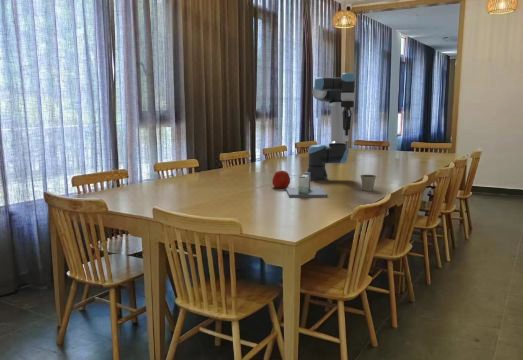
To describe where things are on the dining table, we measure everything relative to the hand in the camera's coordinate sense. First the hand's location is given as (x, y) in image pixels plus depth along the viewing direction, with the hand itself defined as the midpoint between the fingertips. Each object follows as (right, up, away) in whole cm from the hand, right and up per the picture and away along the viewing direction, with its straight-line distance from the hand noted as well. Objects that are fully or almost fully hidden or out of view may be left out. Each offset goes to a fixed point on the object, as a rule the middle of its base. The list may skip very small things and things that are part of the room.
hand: (345, 141), depth 265 cm
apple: (-38, -28, +10) cm, 48 cm away
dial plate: (-24, -31, -8) cm, 40 cm away
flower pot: (+14, -29, +4) cm, 32 cm away
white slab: (-25, -28, -7) cm, 38 cm away
